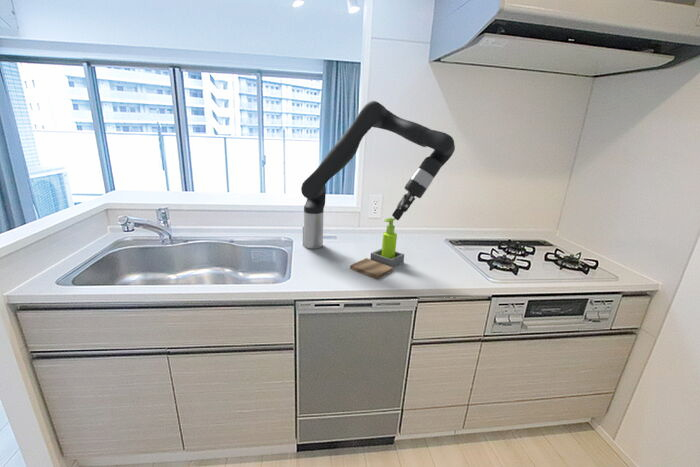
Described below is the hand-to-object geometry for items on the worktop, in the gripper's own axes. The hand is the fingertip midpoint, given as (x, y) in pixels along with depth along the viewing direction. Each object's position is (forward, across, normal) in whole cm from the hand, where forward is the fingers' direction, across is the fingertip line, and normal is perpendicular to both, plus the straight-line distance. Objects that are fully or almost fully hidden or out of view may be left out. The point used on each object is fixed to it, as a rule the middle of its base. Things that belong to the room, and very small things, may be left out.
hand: (394, 218), depth 124 cm
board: (+23, -4, +5) cm, 24 cm away
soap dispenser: (+19, -13, +10) cm, 25 cm away
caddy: (+18, -13, +10) cm, 25 cm away
